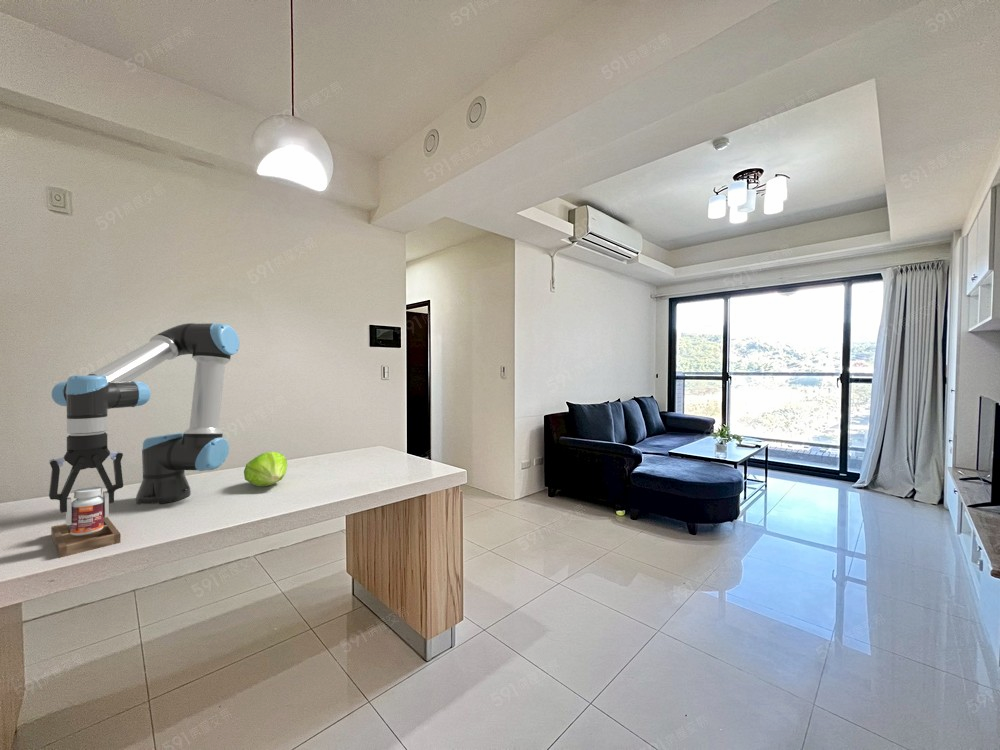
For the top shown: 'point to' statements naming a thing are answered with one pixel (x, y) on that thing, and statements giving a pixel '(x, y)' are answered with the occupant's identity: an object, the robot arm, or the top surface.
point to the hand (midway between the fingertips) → (87, 519)
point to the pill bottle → (87, 511)
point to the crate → (83, 539)
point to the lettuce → (266, 469)
